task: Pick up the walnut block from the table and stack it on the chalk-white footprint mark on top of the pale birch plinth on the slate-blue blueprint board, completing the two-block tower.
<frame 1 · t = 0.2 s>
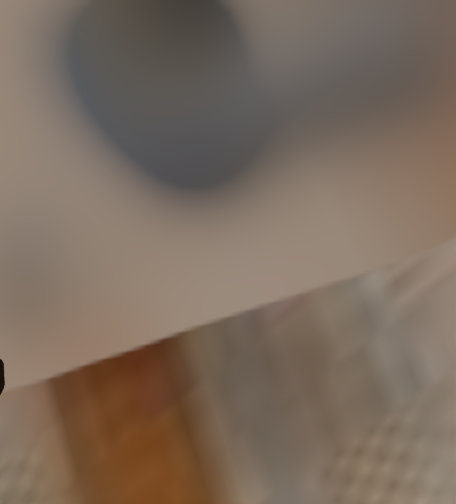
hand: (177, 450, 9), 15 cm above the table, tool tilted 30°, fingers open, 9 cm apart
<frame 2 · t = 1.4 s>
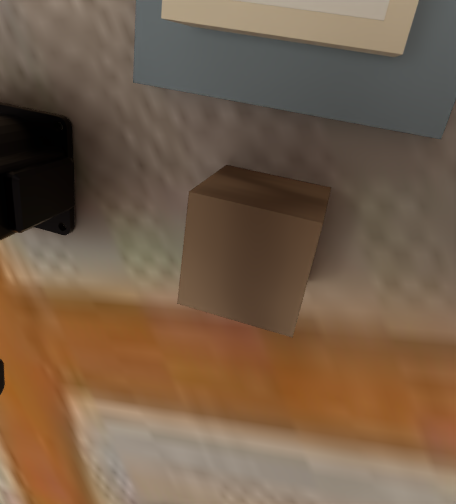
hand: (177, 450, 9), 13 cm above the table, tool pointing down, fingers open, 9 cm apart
walnut block: (267, 224, 20), on the table
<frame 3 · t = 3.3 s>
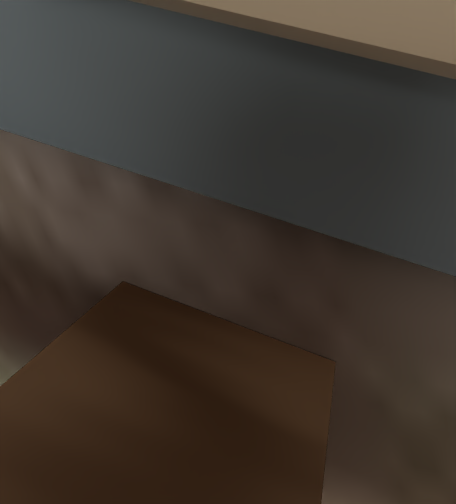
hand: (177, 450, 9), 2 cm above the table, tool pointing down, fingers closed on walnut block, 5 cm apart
walnut block: (202, 399, 10), on the table, touching gripper
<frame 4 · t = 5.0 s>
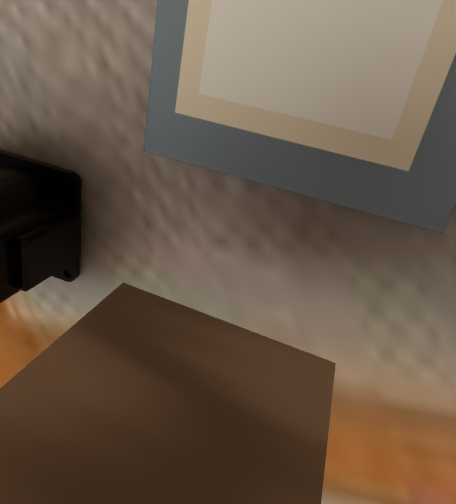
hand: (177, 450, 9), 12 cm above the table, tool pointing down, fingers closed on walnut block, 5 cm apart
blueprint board: (330, 17, 15), on the table
walnut block: (202, 400, 10), point 10 cm above the table, touching gripper
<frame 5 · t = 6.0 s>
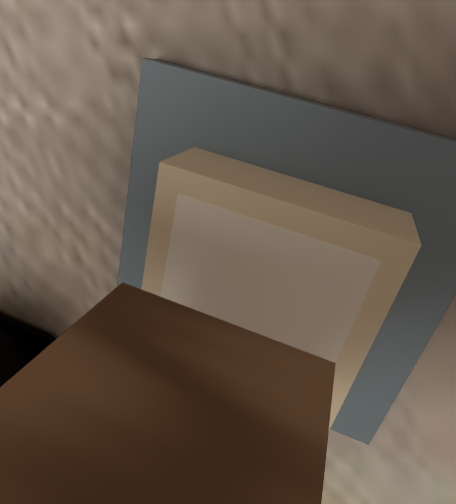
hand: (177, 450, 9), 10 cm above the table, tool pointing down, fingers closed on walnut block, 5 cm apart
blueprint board: (273, 262, 17), on the table
walnut block: (202, 400, 10), point 8 cm above the table, touching gripper
when the fingers open (7 cm above the table, at t = 6.8 s): walnut block drops 2 cm, resting on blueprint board.
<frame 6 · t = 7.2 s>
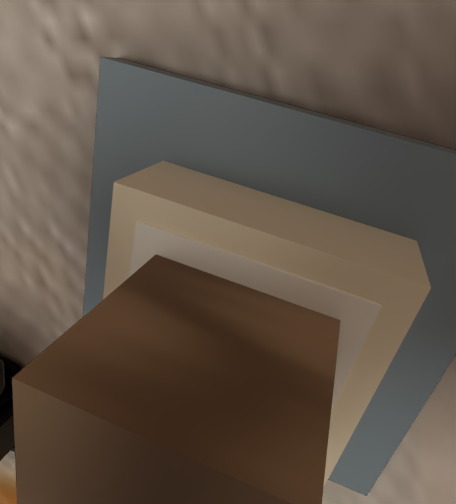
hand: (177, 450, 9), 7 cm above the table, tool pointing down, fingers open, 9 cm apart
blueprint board: (257, 291, 15), on the table
walnut block: (223, 359, 11), point 4 cm above the table, touching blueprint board
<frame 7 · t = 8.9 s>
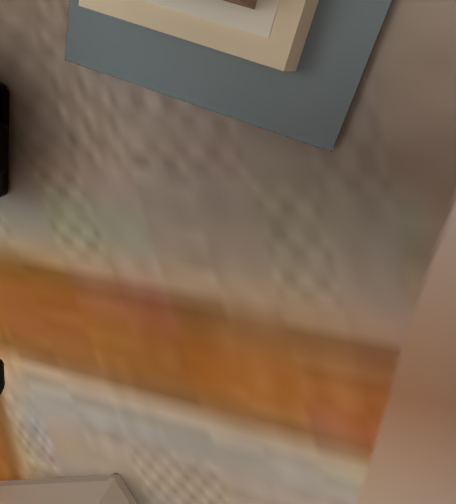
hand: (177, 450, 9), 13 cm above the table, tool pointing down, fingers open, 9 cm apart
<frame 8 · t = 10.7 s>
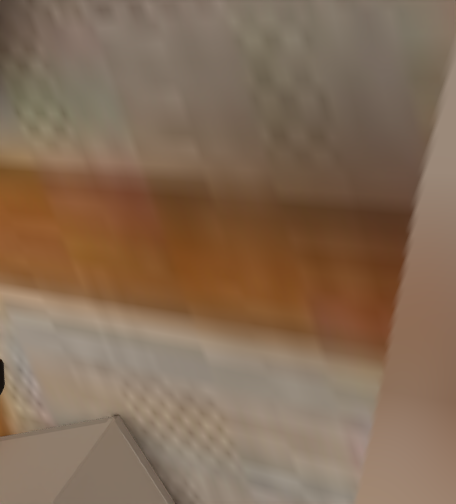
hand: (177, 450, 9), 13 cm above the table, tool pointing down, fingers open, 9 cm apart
white square box: (94, 502, 35), on the table
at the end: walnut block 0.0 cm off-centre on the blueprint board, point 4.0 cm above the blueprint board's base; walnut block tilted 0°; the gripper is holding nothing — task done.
